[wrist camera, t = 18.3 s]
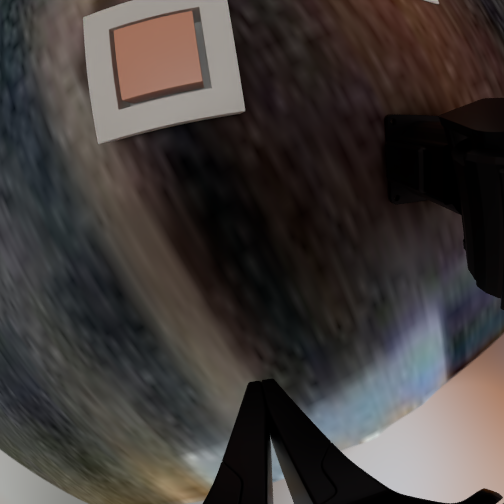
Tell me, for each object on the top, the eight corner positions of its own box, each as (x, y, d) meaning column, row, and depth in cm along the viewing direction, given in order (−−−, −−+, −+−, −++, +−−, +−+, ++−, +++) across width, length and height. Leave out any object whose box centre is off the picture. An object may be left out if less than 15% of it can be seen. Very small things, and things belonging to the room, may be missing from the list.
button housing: (222, 1, 14) (224, -18, 11) (240, 113, 17) (245, 110, 14) (100, 30, 14) (83, 17, 11) (114, 141, 17) (98, 144, 14)
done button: (194, 25, 14) (192, 10, 11) (204, 87, 15) (202, 81, 13) (125, 41, 13) (113, 30, 11) (133, 103, 15) (121, 100, 13)
